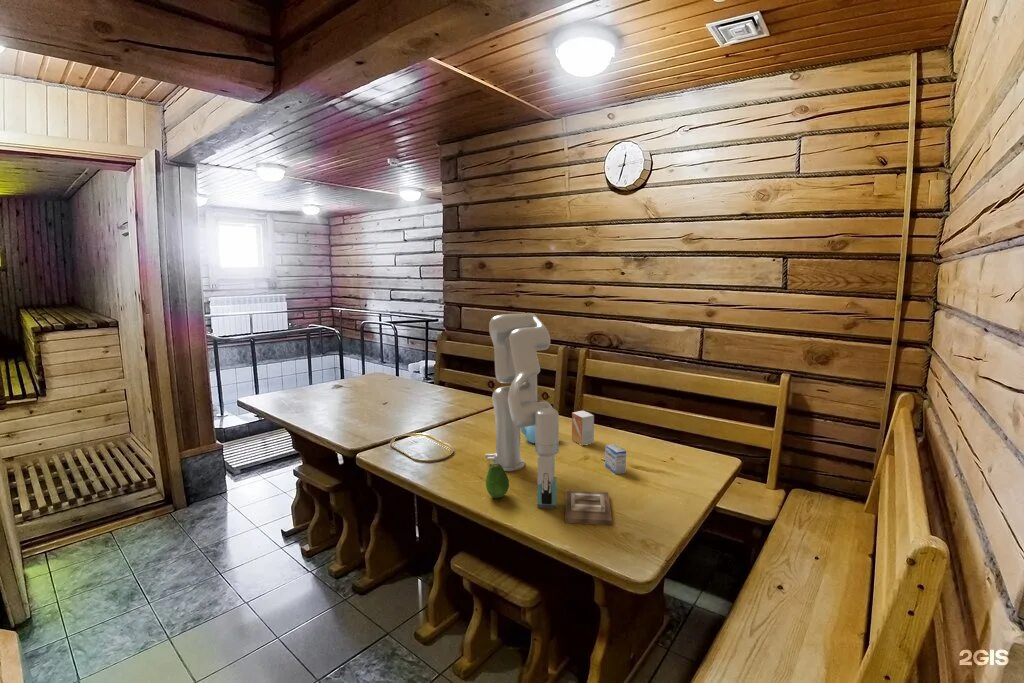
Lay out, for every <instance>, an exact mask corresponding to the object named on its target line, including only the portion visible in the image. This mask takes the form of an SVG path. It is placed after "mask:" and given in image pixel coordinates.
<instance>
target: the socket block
mask: <svg viewBox="0 0 1024 683" xmlns="http://www.w3.org/2000/svg"><path fill="white" fill-rule="evenodd" d="M609 495H610V494H609V492H607V491H606V492H605V491H589V490H587V491H586V490H566V492H565V511H564V512H565V513H564V523H565V524H581V525H582V524H583V525H584V524H585V525H598V526H599V525H601V526H613V518H612V511H611V503H610V497H609Z"/></svg>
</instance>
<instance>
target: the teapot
mask: <svg viewBox="0 0 1024 683" xmlns="http://www.w3.org/2000/svg"><path fill="white" fill-rule="evenodd" d="M520 433H522V434H523V435H524V437H525V438H526V440H527V442H529V443H531V444H534V443H535V425H534V426H528V427H520Z"/></svg>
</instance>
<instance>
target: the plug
mask: <svg viewBox="0 0 1024 683" xmlns="http://www.w3.org/2000/svg"><path fill="white" fill-rule="evenodd" d="M557 479H558V478H557V476H554V478H553V484H552V485H551V492H552V504H542V484H540V485H538V479H537V481H536V482H537V483H536V485H537V486H536V488H537V489H536V490H537V491H536V493H537V494H536V495H537V498H536V499H537V500H536V503H537V504H536V505H537V508H538V509H552V510H554V509H555V510H556V509H557V504H558V502H557V498H558V497H557V496H558V495H557V494H558V492H557V490H558V489H557V486H558V482H557ZM548 483H550V482H548ZM548 487H549V486H548Z"/></svg>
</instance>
